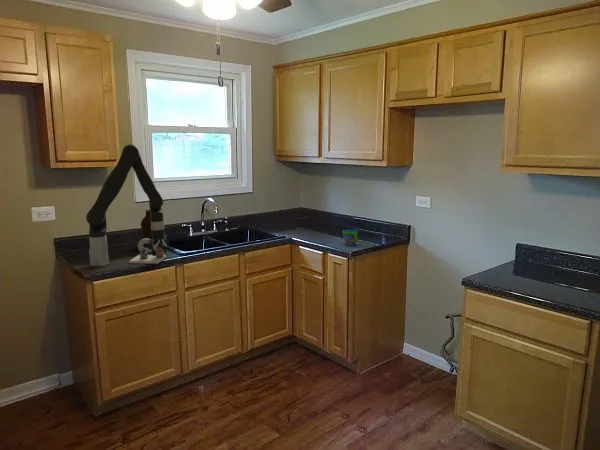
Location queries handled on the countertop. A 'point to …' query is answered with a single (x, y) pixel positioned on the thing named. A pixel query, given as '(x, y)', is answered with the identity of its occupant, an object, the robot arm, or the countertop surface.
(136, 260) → the board
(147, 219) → the olive oil
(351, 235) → the snack cup
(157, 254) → the hub post
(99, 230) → the robot arm
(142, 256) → the stand rod
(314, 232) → the countertop surface
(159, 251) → the ring
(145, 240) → the donut
